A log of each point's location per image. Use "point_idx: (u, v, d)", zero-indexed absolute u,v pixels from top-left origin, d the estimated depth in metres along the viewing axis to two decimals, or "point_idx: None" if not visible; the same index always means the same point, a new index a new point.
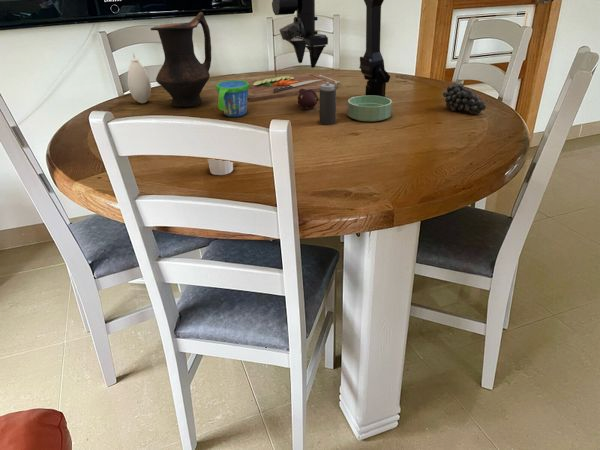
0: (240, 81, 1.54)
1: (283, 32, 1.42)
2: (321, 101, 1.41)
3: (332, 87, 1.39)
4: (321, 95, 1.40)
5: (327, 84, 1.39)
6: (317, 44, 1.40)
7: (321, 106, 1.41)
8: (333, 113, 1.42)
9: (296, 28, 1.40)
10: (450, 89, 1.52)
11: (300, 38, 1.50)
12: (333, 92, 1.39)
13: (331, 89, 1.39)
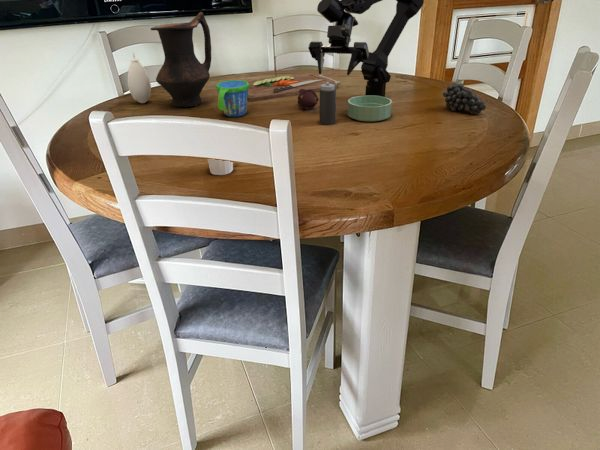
0: (240, 81, 1.54)
1: (338, 27, 1.39)
2: (321, 101, 1.41)
3: (332, 87, 1.39)
4: (321, 95, 1.40)
5: (327, 84, 1.39)
6: (366, 51, 1.43)
7: (321, 106, 1.41)
8: (333, 113, 1.42)
9: (350, 29, 1.41)
10: (450, 89, 1.52)
11: (328, 50, 1.47)
12: (333, 92, 1.39)
13: (331, 89, 1.39)
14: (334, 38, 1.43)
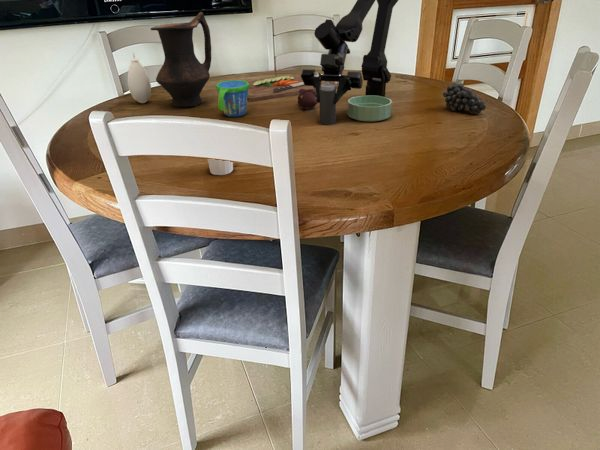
0: (240, 81, 1.54)
1: (331, 55, 1.35)
2: (321, 101, 1.41)
3: (332, 87, 1.39)
4: (321, 95, 1.40)
5: (327, 84, 1.39)
6: (360, 80, 1.39)
7: (321, 106, 1.41)
8: (333, 113, 1.42)
9: (344, 58, 1.38)
10: (450, 89, 1.52)
11: (321, 78, 1.43)
12: (333, 92, 1.39)
13: (331, 89, 1.39)
14: (327, 66, 1.40)
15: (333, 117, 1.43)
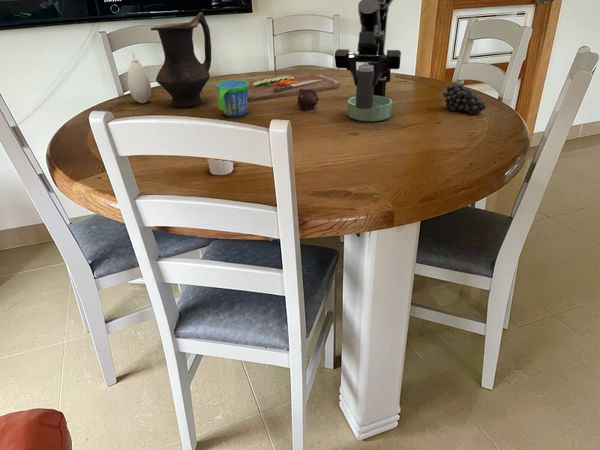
0: (240, 81, 1.54)
1: (371, 33, 1.26)
2: (360, 83, 1.31)
3: (372, 68, 1.29)
4: (360, 77, 1.30)
5: (366, 65, 1.30)
6: None
7: (359, 89, 1.32)
8: (372, 96, 1.33)
9: None
10: (450, 89, 1.52)
11: (356, 59, 1.34)
12: (373, 73, 1.30)
13: (371, 70, 1.29)
14: (365, 46, 1.30)
15: (372, 100, 1.34)
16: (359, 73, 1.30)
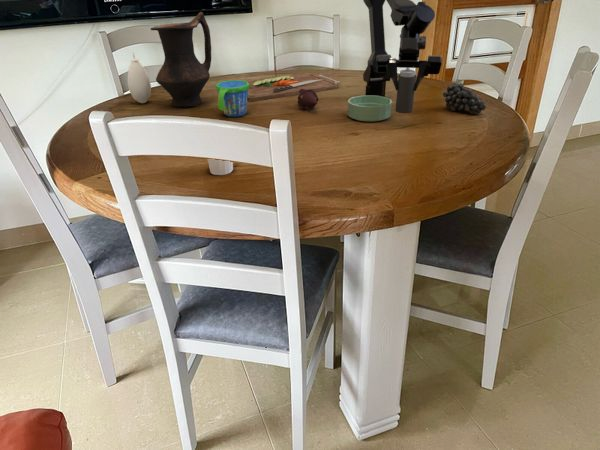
0: (240, 81, 1.54)
1: (414, 39, 1.28)
2: (401, 88, 1.33)
3: (413, 73, 1.31)
4: (401, 82, 1.32)
5: (407, 70, 1.32)
6: (440, 65, 1.33)
7: (400, 94, 1.34)
8: (412, 101, 1.35)
9: None
10: (450, 89, 1.52)
11: (396, 64, 1.36)
12: (414, 78, 1.32)
13: (413, 75, 1.31)
14: (406, 51, 1.32)
15: (412, 105, 1.36)
16: (401, 78, 1.32)
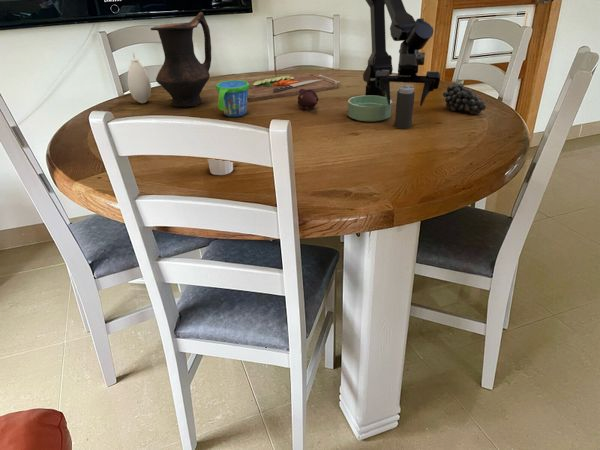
0: (240, 81, 1.54)
1: (413, 55, 1.30)
2: (400, 104, 1.36)
3: (412, 90, 1.34)
4: (400, 98, 1.35)
5: (406, 87, 1.34)
6: (439, 80, 1.35)
7: (399, 110, 1.36)
8: (411, 116, 1.38)
9: None
10: (450, 89, 1.52)
11: (396, 80, 1.38)
12: (413, 95, 1.34)
13: (411, 92, 1.34)
14: (405, 67, 1.34)
15: (410, 120, 1.38)
16: (399, 95, 1.34)
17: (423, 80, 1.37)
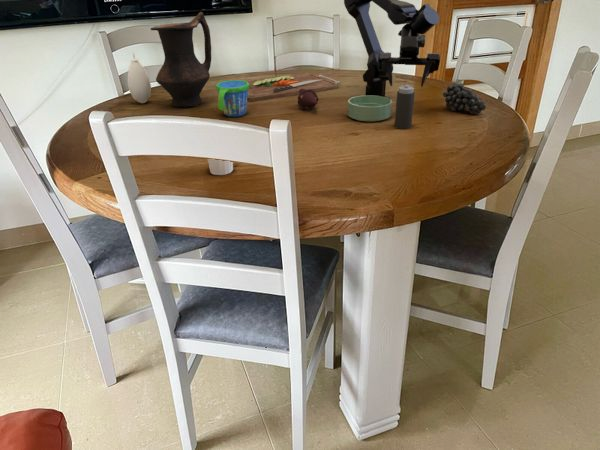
0: (240, 81, 1.54)
1: (414, 38, 1.36)
2: (400, 104, 1.36)
3: (412, 90, 1.34)
4: (400, 98, 1.35)
5: (406, 87, 1.34)
6: (439, 62, 1.41)
7: (399, 110, 1.36)
8: (411, 116, 1.38)
9: None
10: (450, 89, 1.52)
11: (397, 62, 1.44)
12: (413, 95, 1.34)
13: (411, 92, 1.34)
14: (407, 49, 1.40)
15: (410, 120, 1.38)
16: (399, 95, 1.34)
17: (424, 62, 1.42)
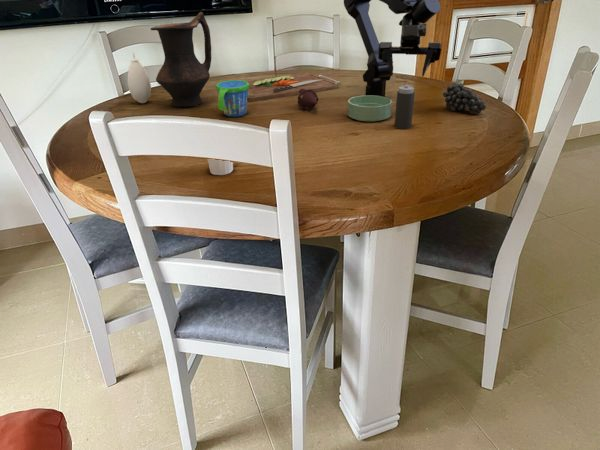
0: (240, 81, 1.54)
1: (415, 26, 1.35)
2: (400, 104, 1.36)
3: (412, 90, 1.34)
4: (400, 98, 1.35)
5: (406, 87, 1.34)
6: (440, 52, 1.39)
7: (399, 110, 1.36)
8: (411, 116, 1.38)
9: None
10: (450, 89, 1.52)
11: (398, 51, 1.42)
12: (413, 95, 1.34)
13: (411, 92, 1.34)
14: (408, 38, 1.39)
15: (410, 120, 1.38)
16: (399, 95, 1.34)
17: (425, 51, 1.41)
